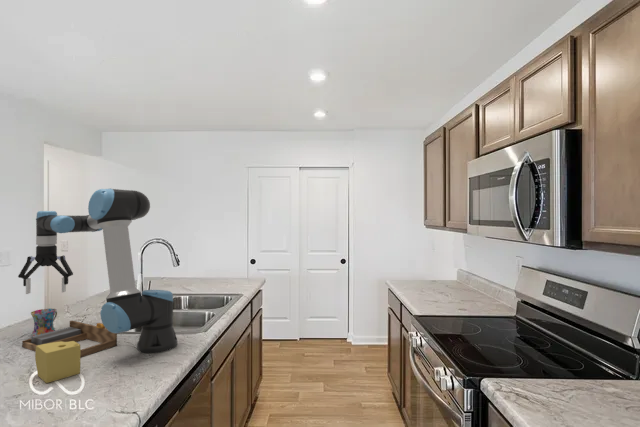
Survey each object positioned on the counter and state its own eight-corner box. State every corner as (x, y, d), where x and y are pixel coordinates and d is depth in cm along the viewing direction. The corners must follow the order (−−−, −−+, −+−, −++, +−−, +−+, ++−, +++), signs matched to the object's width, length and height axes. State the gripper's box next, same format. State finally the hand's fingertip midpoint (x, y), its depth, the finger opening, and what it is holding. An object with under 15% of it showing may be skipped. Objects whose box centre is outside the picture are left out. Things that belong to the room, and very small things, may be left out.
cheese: (70, 365, 132) (71, 337, 132) (82, 374, 125) (82, 344, 125) (34, 375, 124) (35, 345, 124) (44, 385, 117) (44, 353, 117)
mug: (45, 338, 160) (45, 314, 161) (24, 338, 161) (25, 313, 161) (66, 330, 172) (66, 307, 172) (47, 329, 173) (47, 306, 173)
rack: (117, 345, 152) (117, 326, 152) (66, 361, 135) (67, 340, 135) (72, 333, 167) (72, 316, 167) (21, 347, 150) (22, 328, 150)
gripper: (81, 244, 174) (80, 289, 174) (17, 245, 167) (16, 292, 167) (75, 245, 167) (75, 292, 167) (9, 246, 160) (8, 295, 160)
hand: (46, 292), depth 167 cm, fingers open, 13 cm apart
